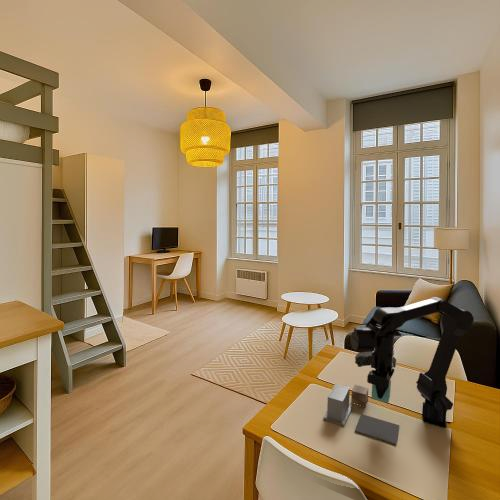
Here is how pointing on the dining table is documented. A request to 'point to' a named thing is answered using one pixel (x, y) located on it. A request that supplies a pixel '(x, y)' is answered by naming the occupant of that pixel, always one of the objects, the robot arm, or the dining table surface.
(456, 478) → the dining table surface
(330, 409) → the grey upright box
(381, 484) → the dining table surface
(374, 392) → the teal block
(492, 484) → the dining table surface
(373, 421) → the dark grey mat
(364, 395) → the walnut block
